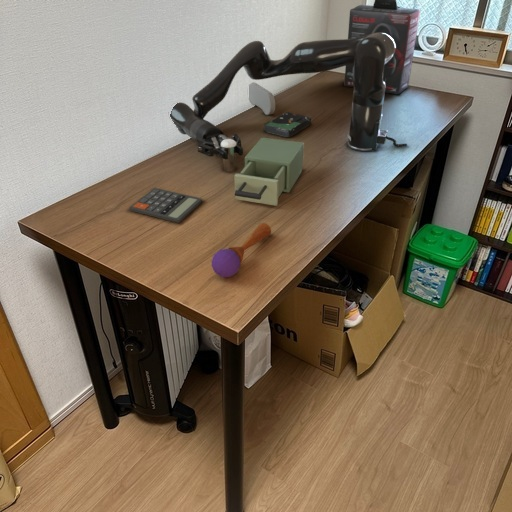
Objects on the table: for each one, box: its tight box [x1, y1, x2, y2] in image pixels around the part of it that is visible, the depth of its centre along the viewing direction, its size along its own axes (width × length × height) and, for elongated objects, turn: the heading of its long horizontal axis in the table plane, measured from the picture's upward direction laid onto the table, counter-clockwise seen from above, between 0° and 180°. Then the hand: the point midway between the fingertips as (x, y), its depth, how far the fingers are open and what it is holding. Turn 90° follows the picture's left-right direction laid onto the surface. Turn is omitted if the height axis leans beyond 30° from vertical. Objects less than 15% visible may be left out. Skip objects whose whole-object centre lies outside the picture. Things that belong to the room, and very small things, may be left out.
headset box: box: [343, 0, 421, 95], centre depth 196 cm, size 25×12×33 cm, turn 57°
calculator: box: [129, 187, 203, 224], centre depth 128 cm, size 12×1×15 cm
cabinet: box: [244, 137, 305, 193], centre depth 138 cm, size 14×13×9 cm
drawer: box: [233, 161, 287, 207], centre depth 128 cm, size 19×11×7 cm, turn 161°
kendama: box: [211, 222, 272, 278], centre depth 108 cm, size 6×6×20 cm
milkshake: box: [221, 139, 238, 173], centre depth 142 cm, size 4×5×10 cm
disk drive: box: [263, 111, 312, 138], centre depth 169 cm, size 10×3×15 cm
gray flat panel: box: [248, 82, 276, 116], centre depth 183 cm, size 20×2×8 cm, turn 26°
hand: (234, 154), depth 139 cm, fingers closed on milkshake, 4 cm apart
